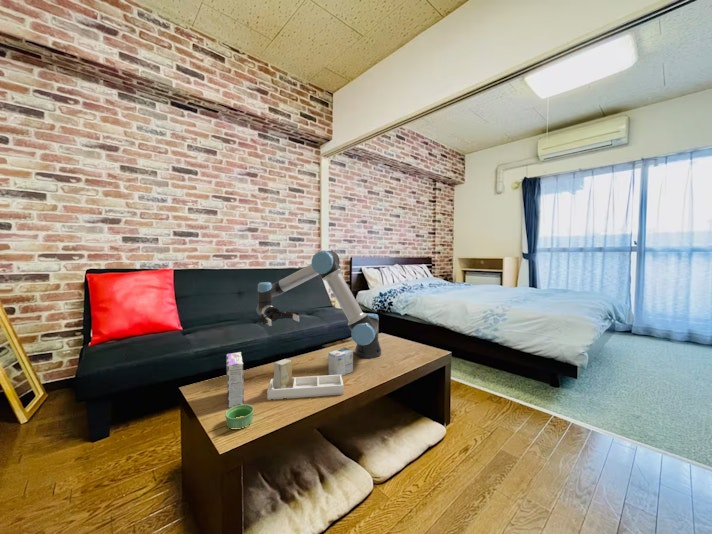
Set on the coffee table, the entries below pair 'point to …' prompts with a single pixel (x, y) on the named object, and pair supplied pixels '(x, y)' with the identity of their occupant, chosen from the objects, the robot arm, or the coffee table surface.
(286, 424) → the coffee table surface
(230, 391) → the candy box
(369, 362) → the coffee table surface
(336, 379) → the compartment tray
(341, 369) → the light bulb box
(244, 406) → the ramekin
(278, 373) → the skincare box
